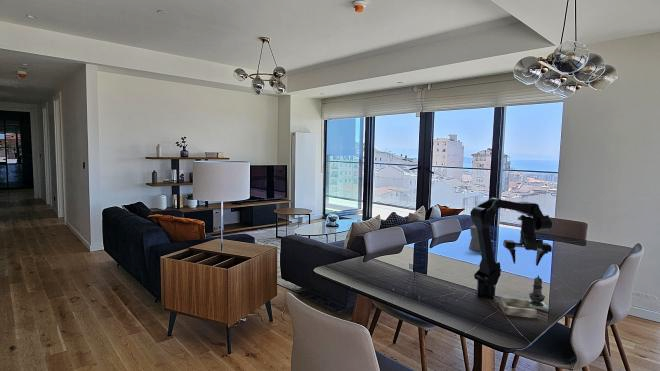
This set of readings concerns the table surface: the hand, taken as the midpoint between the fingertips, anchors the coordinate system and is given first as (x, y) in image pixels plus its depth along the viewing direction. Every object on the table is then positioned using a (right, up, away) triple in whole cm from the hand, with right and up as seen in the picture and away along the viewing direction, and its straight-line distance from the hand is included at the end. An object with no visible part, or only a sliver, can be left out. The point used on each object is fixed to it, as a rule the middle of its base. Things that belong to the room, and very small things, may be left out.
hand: (525, 264), depth 168 cm
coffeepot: (+10, -7, +80) cm, 81 cm away
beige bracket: (-14, -14, -19) cm, 28 cm away
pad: (-2, -14, -13) cm, 20 cm away
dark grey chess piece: (-3, -14, -13) cm, 19 cm away
